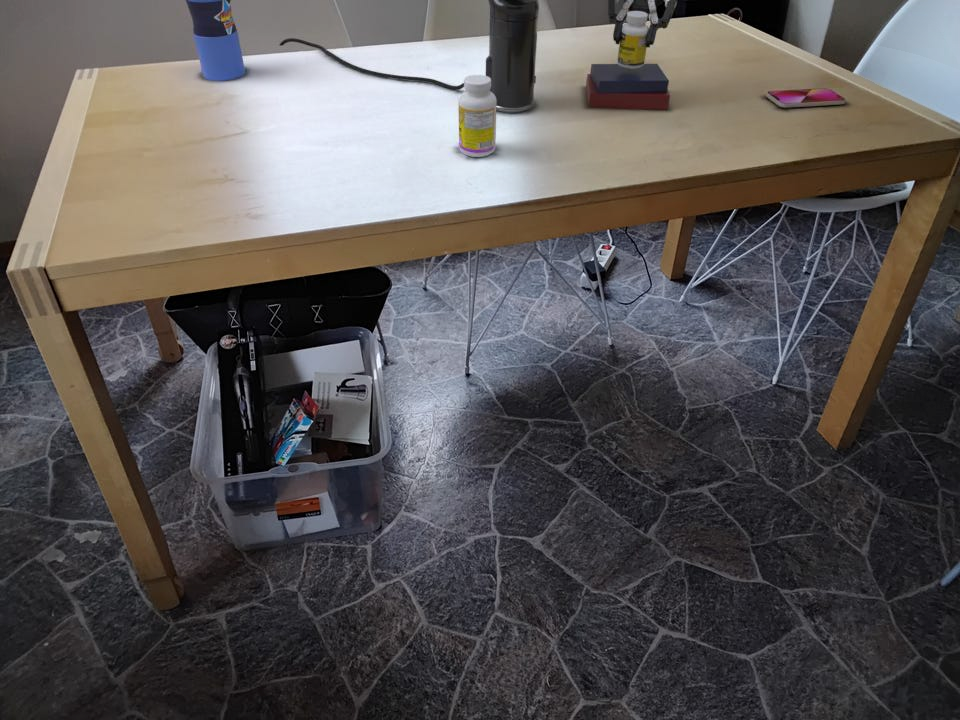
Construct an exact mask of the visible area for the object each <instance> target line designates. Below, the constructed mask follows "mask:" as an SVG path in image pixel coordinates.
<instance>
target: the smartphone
mask: <svg viewBox="0 0 960 720" xmlns="http://www.w3.org/2000/svg"><path fill="white" fill-rule="evenodd" d="M765 97H766V98H768V99H769V100H770V101H772V102H773V103H774V104H776V105H777V107H780V108H802V107H818V106H834V105H835V106H837V105H844V104H845V103H846V101H847V100H846V99H847V98H845V97H843V96H841V94H839V93H838V92H835V91H834V90H833V89H830V88H828V87H821V88H803V89H801V88H800V89H785V90H768V91H766V93H765Z"/></svg>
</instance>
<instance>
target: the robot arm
mask: <svg viewBox="0 0 960 720" xmlns="http://www.w3.org/2000/svg"><path fill="white" fill-rule="evenodd" d="M618 2H619V0H608V1H607V13H608V14H607V18H608V21H607V22H608V23H609V24H614V28H613V33H612V39H613V42H615V45H620V38H621V30H622V27H623V25H625V22H627V21H626V18H627V13H628V12H630V11H642V12H645V13H647V14H648V20H649V26H648V27H649V32H648V36H647V41H646V47H647V48H648V49H649V48H651V46H653V45H654V44H655V41H656V36H657V31H658V30H659V29H666V28H668V26H669V24H670V21H671V19H672V17H673V14H674V11H675V9H676V8H677V5H678V0H623V2H624V3H623V5H622V7H621V9H620V11H619V13H618V14H617V13H616V7H615V6H616V4H617V3H618ZM663 2H664V7H665V10H664V12H663V15H662V17H660V18H658V13H657V7H658V6H659V5H661V4H662V3H663ZM488 4H489V38H488V39H489V40H488V41H489V42H488V43H489V44H488V56H487V57H486V58H485V76H488V77H490V78H491V88H490V92H492V93H493V94H494V95H495V97H496V112H501V113H514V114H515V113H523V112H526V111H529V110H531V109H532V108H533V107H534V105H535V103H534V102H535V99H534V98H535V84H536V83H537V82H536V81H537V80H536V79H537V76H536V63H537V61H536V60H537V44H538V27H539V11H540V2H539V0H488ZM287 43H299V44H302V45H305V46H309V47H311V48H316V49H319V50H320V51H322V52H323V53H325V54H326V55H327V56H329V57H331V58H332V59H334V60H335V61H337V62H338V63H340V64H342V65H344V66H346V67H348V68H351V69H353V70H355V71H358V72H361V73H364V74H368V75H372V76H376V77H382V78H388V79H394V80H403V81H416V82H424V83H430V84H434V85H437V86H440V87H443V88H445V89H448V90H453V91H459V90H461V89H463V88H465V87H464V82H462V83H461V84H459V85H452V84H451V85H450V84H448V83H445V82H443V81H440V80H437V79H434V78H428V77H422V76H420V77H419V76H409V75H400V74H399V75H398V74H393V73H392V74H390V73H385V72H379V71H374V70H371V69H367V68H362V67H361V66H360V67H359V66H358V65H355V64H353V63H349V61H346V60H344V59H342V58H340V57H339V56H337V55H336V54H334V53H332V52H331V51H329V50H328V49H326V48H325V47H324V46H322V45H319V44H316V43H313V42H310V41H307V40H303V39H300V38H293V37H291V38H286V39H283V40H282V41H281V42H280V43H279V45H278V46H284V45H285V44H287Z"/></svg>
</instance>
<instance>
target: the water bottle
mask: <svg viewBox="0 0 960 720" xmlns="http://www.w3.org/2000/svg"><path fill="white" fill-rule="evenodd" d="M185 2H186V6H187V8H188V11H189V14H190V17H191V22H192V23H191V24H192V31H193V33H192V34H193V38H194V42H195V48H196V51H197V56H198V59H199V63H200V68H201V73H202V76H203V78H204V79H206V80H209V81H215V82H216V81H217V82H221V81H222V82H223V81H224V82H225V81H231V80H235V79H238V78H241V77H243V76H244V75H245V74H246V69H245V62H244V57H243V53H242V47H241V43H240V38H239V37H240V36H239V33H238V28H237V26H236V23H235V21H234V17H233V11H232V1H231V0H185Z"/></svg>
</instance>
